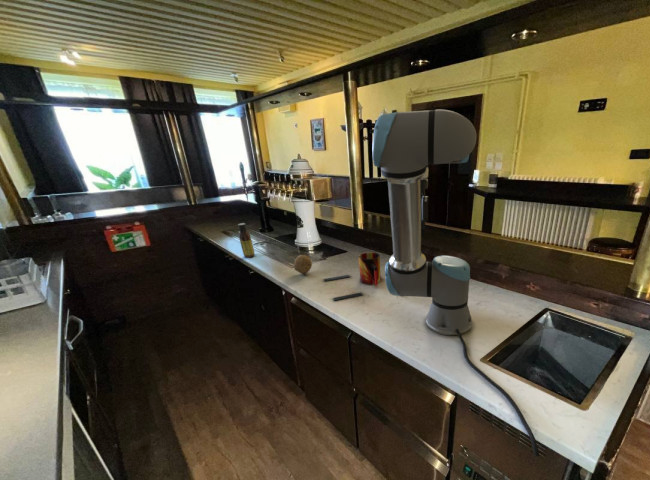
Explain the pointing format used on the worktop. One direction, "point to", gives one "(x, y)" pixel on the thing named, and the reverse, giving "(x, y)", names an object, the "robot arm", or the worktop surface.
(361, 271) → the mug
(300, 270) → the natural sponge
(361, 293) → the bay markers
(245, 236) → the sauce bottle
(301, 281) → the worktop surface
